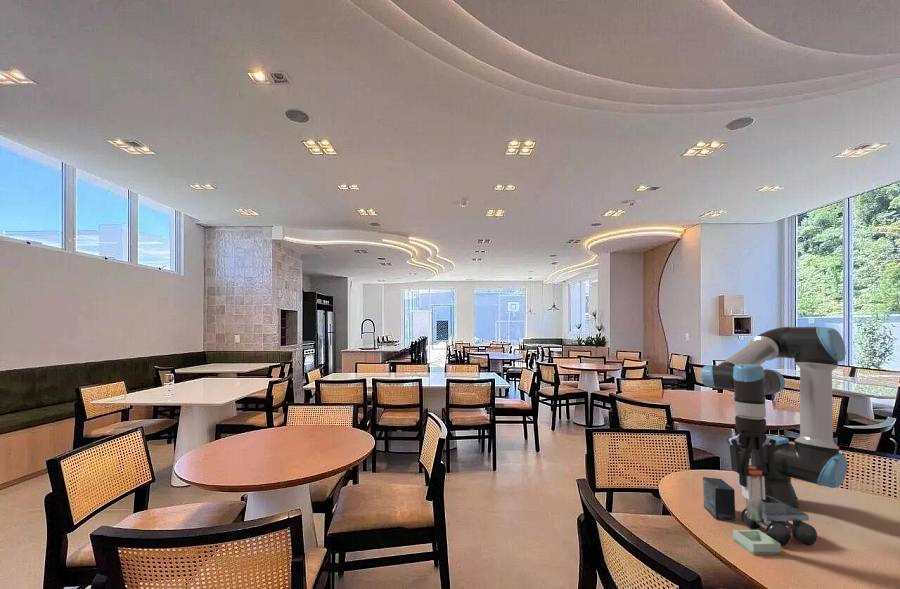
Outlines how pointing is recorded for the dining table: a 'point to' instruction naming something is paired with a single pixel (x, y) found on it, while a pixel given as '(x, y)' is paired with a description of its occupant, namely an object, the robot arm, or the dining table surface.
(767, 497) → the trolley
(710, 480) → the small box
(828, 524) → the dining table surface
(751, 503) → the pin
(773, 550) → the tray
